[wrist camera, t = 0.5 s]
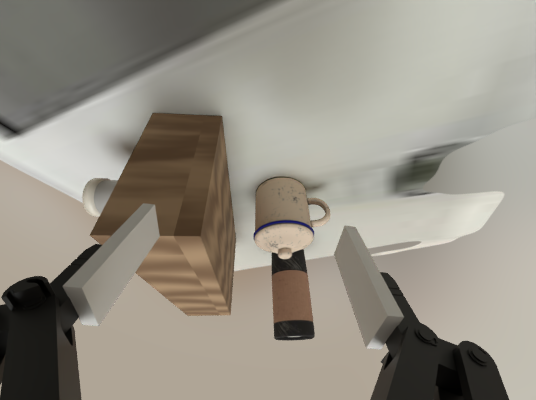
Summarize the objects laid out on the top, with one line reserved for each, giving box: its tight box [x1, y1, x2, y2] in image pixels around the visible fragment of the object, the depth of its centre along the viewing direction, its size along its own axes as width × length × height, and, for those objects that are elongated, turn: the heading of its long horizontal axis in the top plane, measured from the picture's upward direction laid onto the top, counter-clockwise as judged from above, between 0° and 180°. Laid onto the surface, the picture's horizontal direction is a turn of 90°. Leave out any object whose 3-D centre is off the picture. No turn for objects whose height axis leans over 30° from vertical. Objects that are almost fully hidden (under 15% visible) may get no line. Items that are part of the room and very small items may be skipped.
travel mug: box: [272, 249, 314, 340], centre depth 47 cm, size 8×8×20 cm
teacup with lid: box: [254, 178, 330, 259], centre depth 35 cm, size 12×9×12 cm
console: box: [90, 113, 236, 316], centre depth 34 cm, size 32×8×16 cm, turn 176°
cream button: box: [83, 178, 118, 217], centre depth 26 cm, size 4×7×4 cm, turn 86°
